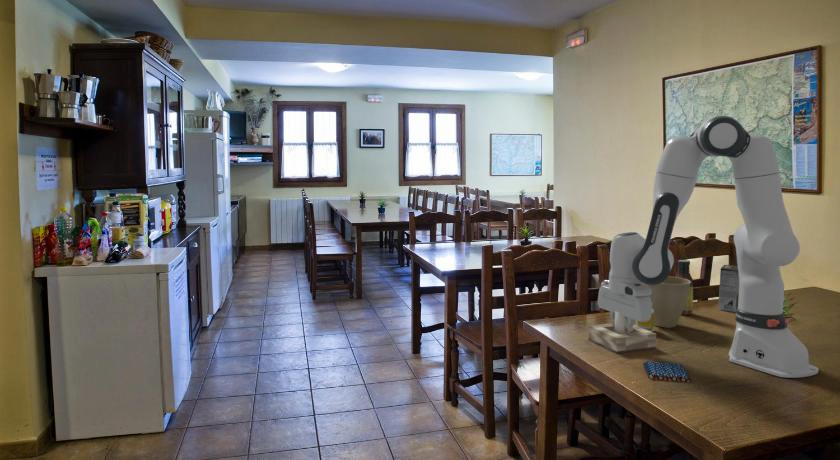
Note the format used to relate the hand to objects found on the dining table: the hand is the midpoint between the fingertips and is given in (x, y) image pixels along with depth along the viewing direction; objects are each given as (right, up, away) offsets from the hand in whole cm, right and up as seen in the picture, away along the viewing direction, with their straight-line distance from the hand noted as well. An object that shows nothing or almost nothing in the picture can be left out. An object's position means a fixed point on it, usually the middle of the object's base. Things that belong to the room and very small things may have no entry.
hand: (622, 328), depth 183 cm
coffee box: (+56, 0, +44) cm, 71 cm away
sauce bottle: (+35, -1, +37) cm, 51 cm away
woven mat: (+3, -9, -24) cm, 26 cm away
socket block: (0, -5, 0) cm, 5 cm away
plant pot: (+22, -2, +22) cm, 31 cm away
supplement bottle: (+13, -3, +15) cm, 20 cm away
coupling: (0, -4, 0) cm, 4 cm away
